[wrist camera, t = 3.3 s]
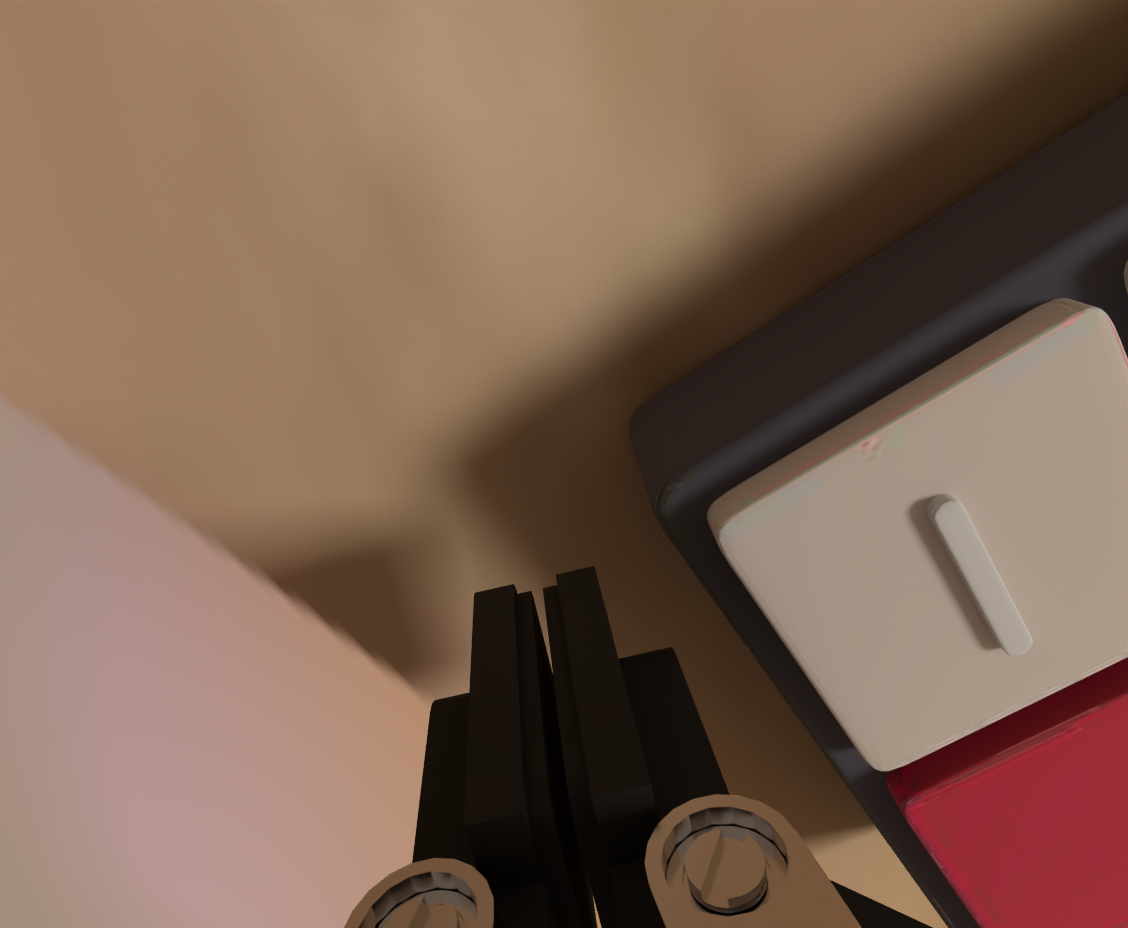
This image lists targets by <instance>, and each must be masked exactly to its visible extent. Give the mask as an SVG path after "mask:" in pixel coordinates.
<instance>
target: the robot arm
mask: <svg viewBox="0 0 1128 928" xmlns="http://www.w3.org/2000/svg"><path fill="white" fill-rule="evenodd" d="M556 578H557V584H558V585H555V586H551V587H547V588H543V593H544V602H545V610H546V618H547V627H548V635H549V643H550V651H551V660H552V668H553V673H552V669H551V665H550V661H549V657H548V654H547V650H546V646H545V642H544V638H543V634H542V630H541V626H540V622H539V618H538V614H537V610H536V606H535V602H534V598H533V595H532V592H531V591H529V592H524V593H520V594H517V591H516V588H515V586H514V584H512V585H508V586H503V587H499V588H494V589H490V590H485V591H481V592H476V593H475V594H474V608H473V630H472V651H471V673H470V693H465V694H461V695H456V696H452V697H447V698H443V699H439V700H435V701H434V702H433V703H432V706H431V711H430V718H429V726H428V735H427V744H426V751H425V760H424V769H423V777H422V785H421V794H420V803H419V811H418V819H417V828H416V836H415V844H414V853H413V861H412V863H411V864H409V865H407V866H405V867H403V868H401V869H399V870H397V871H395V872H393V873H391V874H389V875H388V876H387V877H385V878H384V879H383V880H382V881H380V882H379V883H378V884H377V885H375V886H374V887H373V888H372V889H370V890H369V891H368V893H367V894H366V895H365V896H364V897H363V899H362V900H361V901H360V902H359V904H358V905H357V906H356V907H355V909H354V910H353V911H352V913H351V915H350V917H349V919H348V921H347V923H346V925H345V927H344V928H597V922H596V914H595V907H594V900H595V904H596V908H597V911H598V915H599V919H600V923H601V926H602V928H932V927H930V926H928V925H926V924H924V923H922V922H919V921H917V920H915V919H913V918H911V917H909V916H906V915H904V914H902V913H900V912H898V911H896V910H894V909H891V908H889V907H887V906H885V905H883V904H881V903H879V902H876V901H874V900H872V899H870V898H868V897H866V896H863V895H861V894H859V893H857V892H855V891H853V890H851V889H848V888H846V887H844V886H842V885H840V884H838V883H836V882H833V881H831V880H829V878H828V877H827V875H826V874H825V872H824V871H823V869H822V868H821V867H820V865H819V864H818V862H817V861H816V859H815V858H814V856H813V855H812V853H811V852H810V850H809V849H808V847H807V846H806V844H805V843H804V841H803V840H802V838H801V837H800V835H799V834H798V832H797V831H796V830H795V829H794V827H793V826H792V825H791V824H790V823H789V822H788V821H787V820H786V819H785V818H784V817H783V816H782V814H781V813H779V812H777V811H776V810H774V809H772V808H771V807H769V806H767V805H766V804H764V803H762V802H761V801H757V800H754V799H750V798H747V797H743V796H740V795H730V794H729V792H728V789H727V787H726V784H725V781H724V779H723V776H722V774H721V771H720V768H719V766H718V763H717V761H716V758H715V755H714V753H713V750H712V748H711V745H710V742H709V740H708V737H707V734H706V732H705V729H704V727H703V724H702V721H701V719H700V716H699V714H698V711H697V708H696V706H695V703H694V701H693V698H692V695H691V693H690V690H689V688H688V685H687V682H686V680H685V677H684V674H683V672H682V669H681V667H680V664H679V661H678V659H677V656H676V654H675V652H674V649H673V648H672V647H670V648H665V649H661V650H656V651H652V652H647V653H643V654H638V655H634V656H630V657H625V658H621V659H618V655H617V651H616V648H615V644H614V640H613V636H612V632H611V628H610V624H609V621H608V617H607V613H606V609H605V605H604V601H603V598H602V594H601V590H600V586H599V582H598V578H597V575H596V571H595V567H594V566H592V567H588V568H583V569H579V570H575V571H570V572H566V573H561V574H557V575H556ZM553 676H554V677H553ZM593 897H594V900H593Z"/></svg>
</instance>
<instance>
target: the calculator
mask: <svg viewBox="0 0 1128 928" xmlns="http://www.w3.org/2000/svg"><path fill="white" fill-rule="evenodd" d="M630 435H631V439H632V443H633V446H634V450H635V453H636V456H637V460H638V463H639V466H640V469H641V472H642V476H643V479H644V482H645V485H646V489H647V492H648V495H649V498H650V501H651V504H652V507H653V510H654V513H655V515H656V517H657V519H658V521H659V523H660V525H661V526H662V528H663V530H664V531H665V533H666V534H667V536H668V537H669V538H670V540H671V541H672V543H673V544H674V545H675V547H676V548H677V550H678V551H679V552H680V554H681V555H682V557H683V558H684V559H685V561H686V562H687V564H688V565H689V566H690V568H691V569H692V571H693V572H694V573H695V575H696V576H697V577H698V579H699V580H700V582H701V583H702V584H703V586H704V587H705V589H706V590H707V591H708V593H709V594H710V596H711V597H712V598H713V600H714V601H715V603H716V604H717V605H718V607H719V608H720V610H721V611H722V612H723V614H724V615H725V617H726V618H727V619H728V621H729V622H730V624H731V625H732V626H733V628H734V629H735V631H736V632H737V633H738V635H739V636H740V638H741V639H742V640H743V642H744V643H745V645H746V646H747V647H748V649H749V650H750V651H751V653H752V654H753V656H754V657H755V658H756V660H757V661H758V663H759V664H760V665H761V667H762V668H763V670H764V671H765V672H766V674H767V675H768V677H769V678H770V679H771V681H772V682H773V684H774V685H775V686H776V688H777V689H778V691H779V692H780V693H781V695H782V696H783V698H784V699H785V700H786V702H787V703H788V705H789V706H790V707H791V709H792V710H793V712H794V713H795V714H796V716H797V717H798V719H799V720H800V721H801V723H802V724H803V725H804V727H805V728H806V730H807V731H808V732H809V734H810V735H811V737H812V738H813V739H814V741H815V742H816V744H817V745H818V746H819V748H820V749H821V751H822V752H823V753H824V755H825V756H826V758H827V759H828V760H829V762H830V763H831V765H832V766H833V767H834V769H835V770H836V772H837V773H838V774H839V776H840V777H841V779H842V780H843V781H844V783H845V784H846V786H847V787H848V788H849V790H850V791H851V793H852V794H853V795H854V797H855V798H856V799H857V801H858V802H859V804H860V805H861V806H862V808H863V809H864V811H865V812H866V813H867V815H868V816H869V818H870V819H871V820H872V822H873V823H874V825H875V826H876V827H877V829H878V830H879V832H880V833H881V834H882V836H883V837H884V839H885V840H886V841H887V843H888V844H889V846H890V847H891V848H892V850H893V851H894V853H895V854H896V855H897V857H898V858H899V860H900V861H901V862H902V864H903V865H904V867H905V868H906V869H907V871H908V872H909V873H910V875H911V876H912V878H913V879H914V880H915V882H916V883H917V885H918V886H919V887H920V889H921V890H922V892H923V893H924V894H925V896H926V897H927V899H928V900H929V901H930V903H931V904H932V906H933V907H934V908H935V910H936V911H937V913H938V914H939V915H940V917H941V918H942V920H943V921H944V922H945V924H946V925H947V927H948V928H1128V93H1127V94H1126V95H1124V96H1123V97H1121V98H1120V99H1118V100H1116V101H1115V102H1113V103H1112V104H1110V105H1109V106H1107V107H1106V108H1104V109H1102V110H1101V111H1099V112H1098V113H1096V114H1095V115H1093V116H1091V117H1090V118H1088V119H1087V120H1085V121H1084V122H1082V123H1081V124H1079V125H1077V126H1076V127H1074V128H1073V129H1071V130H1070V131H1068V132H1067V133H1065V134H1063V135H1062V136H1060V137H1059V138H1057V139H1056V140H1054V141H1052V142H1051V143H1049V144H1048V145H1046V146H1045V147H1043V148H1042V149H1040V150H1038V151H1037V152H1035V153H1034V154H1032V155H1031V156H1029V157H1027V158H1026V159H1024V160H1023V161H1021V162H1020V163H1018V164H1017V165H1015V166H1013V167H1012V168H1010V169H1009V170H1007V171H1006V172H1004V173H1003V174H1001V175H999V176H998V177H996V178H995V179H993V180H992V181H990V182H988V183H987V184H985V185H984V186H982V187H981V188H979V189H978V190H976V191H974V192H973V193H971V194H970V195H968V196H967V197H965V198H963V199H962V200H960V201H959V202H957V203H956V204H954V205H953V206H951V207H949V208H948V209H946V210H945V211H943V212H942V213H940V214H938V215H937V216H935V217H934V218H932V219H931V220H929V221H928V222H926V223H924V224H923V225H921V226H920V227H918V228H917V229H915V230H914V231H912V232H910V233H909V234H907V235H906V236H904V237H903V238H901V239H899V240H898V241H896V242H895V243H893V244H892V245H890V246H889V247H887V248H885V249H884V250H882V251H881V252H879V253H878V254H876V255H874V256H873V257H871V258H870V259H868V260H867V261H865V262H864V263H862V264H860V265H859V266H857V267H856V268H854V269H853V270H851V271H849V272H848V273H846V274H845V275H843V276H842V277H840V278H839V279H837V280H835V281H834V282H832V283H831V284H829V285H828V286H826V287H825V288H823V289H821V290H820V291H818V292H817V293H815V294H814V295H812V296H810V297H809V298H807V299H806V300H804V301H803V302H801V303H800V304H798V305H796V306H795V307H793V308H792V309H790V310H789V311H787V312H785V313H784V314H782V315H781V316H779V317H778V318H776V319H775V320H773V321H771V322H770V323H768V324H767V325H765V326H764V327H762V328H761V329H759V330H757V331H756V332H754V333H753V334H751V335H750V336H748V337H746V338H745V339H743V340H742V341H740V342H739V343H737V344H736V345H734V346H732V347H731V348H729V349H728V350H726V351H725V352H723V353H721V354H720V355H718V356H717V357H715V358H714V359H712V360H711V361H709V362H707V363H706V364H704V365H703V366H701V367H700V368H698V369H696V370H695V371H693V372H692V373H690V374H689V375H687V376H686V377H684V378H682V379H681V380H679V381H678V382H676V383H675V384H673V385H672V386H670V387H668V388H667V389H665V390H664V391H662V392H661V393H659V394H658V395H656V396H655V397H653V398H651V399H650V400H648V401H647V402H646V403H644V404H643V405H642V406H640V408H639V409H638V410H637V411H636V412H635V413H634V415H633V417H632V420H631V423H630Z"/></svg>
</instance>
